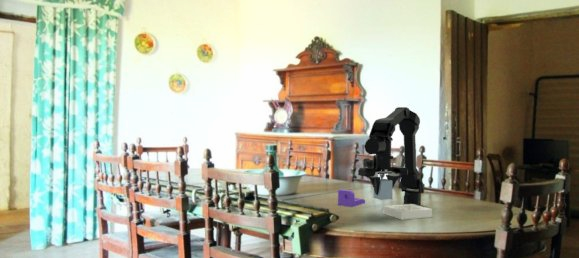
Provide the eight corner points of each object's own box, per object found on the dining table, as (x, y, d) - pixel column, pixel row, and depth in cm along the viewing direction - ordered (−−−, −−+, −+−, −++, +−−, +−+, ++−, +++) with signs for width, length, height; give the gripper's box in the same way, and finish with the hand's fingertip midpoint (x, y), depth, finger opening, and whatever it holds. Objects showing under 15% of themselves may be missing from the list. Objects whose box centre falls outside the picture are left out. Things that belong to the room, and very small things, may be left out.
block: (384, 197, 178) (384, 178, 178) (392, 199, 174) (392, 180, 173) (373, 197, 176) (373, 179, 176) (380, 199, 172) (381, 181, 172)
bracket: (351, 207, 197) (352, 191, 197) (337, 205, 201) (338, 190, 201) (364, 203, 207) (365, 188, 207) (351, 201, 211) (351, 186, 211)
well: (412, 211, 189) (412, 203, 189) (431, 217, 178) (432, 209, 178) (383, 213, 184) (383, 206, 184) (401, 219, 173) (401, 211, 172)
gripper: (391, 151, 186) (391, 190, 186) (351, 152, 178) (350, 192, 179) (408, 153, 175) (408, 194, 176) (366, 154, 168) (365, 196, 168)
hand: (382, 194), depth 175 cm, fingers closed on block, 5 cm apart
